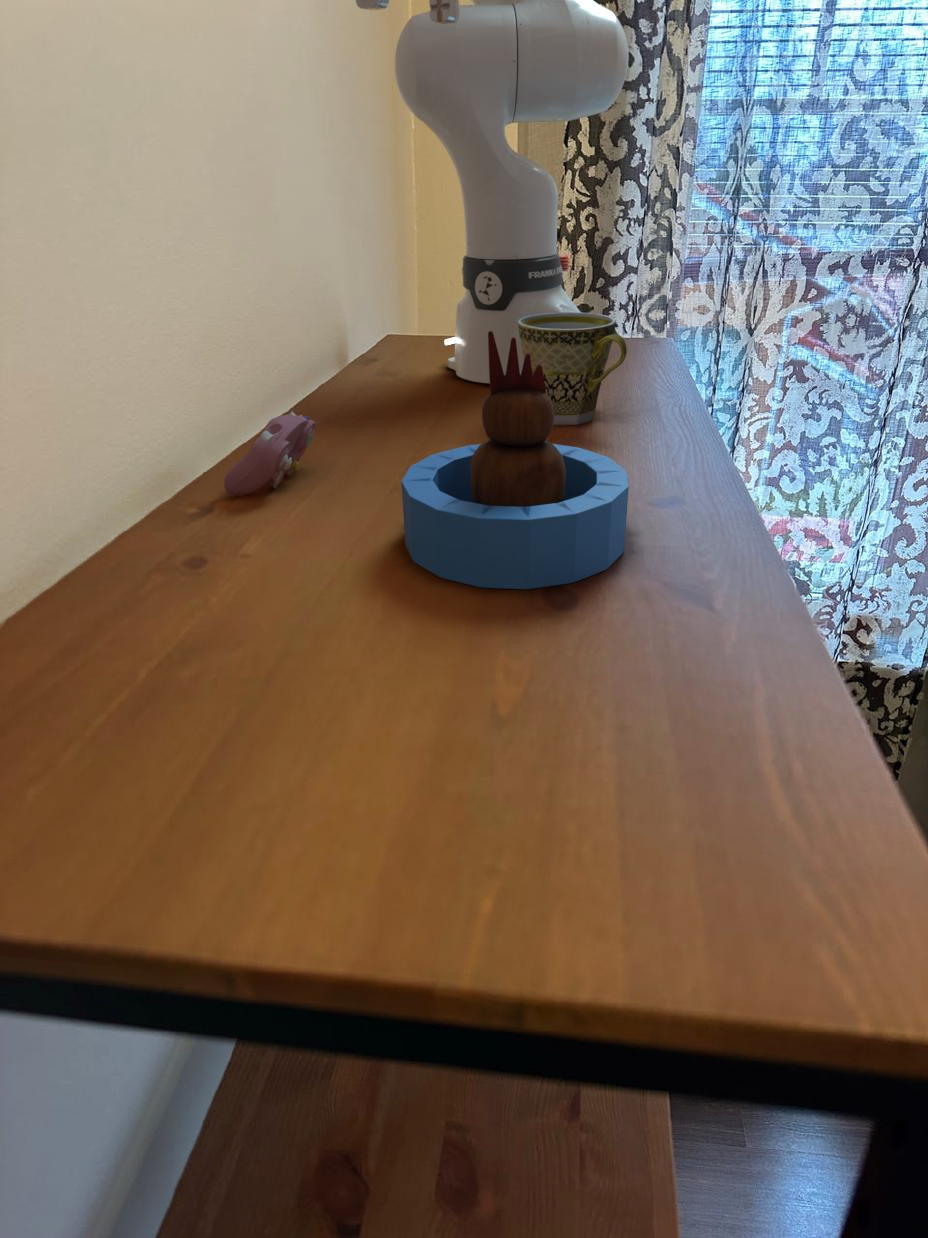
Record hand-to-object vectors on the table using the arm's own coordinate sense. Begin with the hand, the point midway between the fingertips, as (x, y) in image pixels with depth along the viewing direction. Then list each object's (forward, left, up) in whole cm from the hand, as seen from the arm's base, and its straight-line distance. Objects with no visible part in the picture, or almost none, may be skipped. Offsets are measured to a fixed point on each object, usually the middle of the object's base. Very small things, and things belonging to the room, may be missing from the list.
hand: (410, 16), depth 61 cm
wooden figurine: (+12, +15, -34) cm, 39 cm away
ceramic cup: (-19, +6, -34) cm, 40 cm away
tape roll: (+12, +15, -34) cm, 39 cm away
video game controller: (+10, -10, -34) cm, 37 cm away
